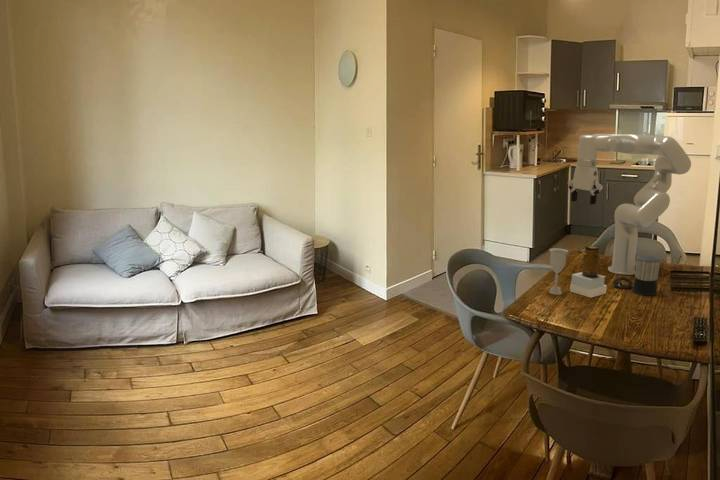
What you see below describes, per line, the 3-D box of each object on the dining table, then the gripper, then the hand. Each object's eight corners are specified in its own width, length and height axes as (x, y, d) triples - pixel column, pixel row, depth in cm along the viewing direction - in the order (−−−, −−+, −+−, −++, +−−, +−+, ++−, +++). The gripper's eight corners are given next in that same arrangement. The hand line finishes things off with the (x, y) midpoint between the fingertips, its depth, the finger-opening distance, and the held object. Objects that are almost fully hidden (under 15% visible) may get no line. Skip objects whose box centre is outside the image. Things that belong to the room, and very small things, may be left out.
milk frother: (659, 296, 240) (663, 261, 237) (618, 294, 243) (621, 259, 240) (650, 286, 254) (654, 252, 250) (611, 284, 257) (614, 250, 254)
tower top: (584, 280, 251) (585, 271, 250) (603, 285, 243) (604, 276, 243) (571, 283, 246) (572, 274, 245) (590, 289, 239) (591, 279, 238)
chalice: (544, 293, 244) (547, 251, 240) (548, 289, 250) (550, 247, 246) (563, 296, 241) (566, 253, 237) (566, 291, 247) (569, 249, 243)
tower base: (584, 288, 253) (585, 279, 252) (605, 294, 245) (606, 285, 244) (569, 292, 247) (570, 283, 246) (590, 299, 239) (591, 289, 238)
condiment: (587, 272, 248) (590, 244, 246) (605, 276, 242) (608, 248, 239) (576, 274, 244) (579, 246, 242) (595, 279, 238) (597, 250, 235)
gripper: (609, 165, 254) (605, 204, 257) (575, 161, 268) (572, 199, 272) (598, 166, 250) (594, 206, 254) (564, 162, 264) (561, 200, 268)
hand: (583, 202), depth 263 cm, fingers open, 9 cm apart
